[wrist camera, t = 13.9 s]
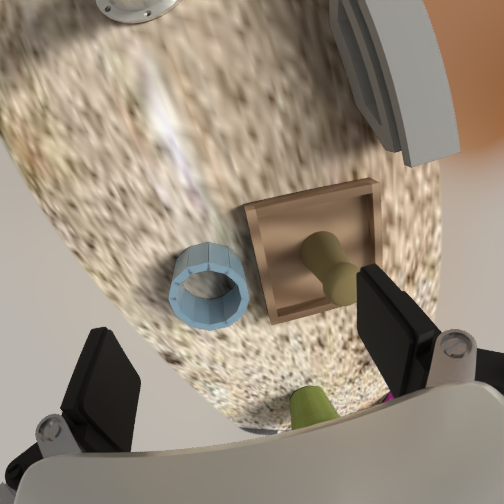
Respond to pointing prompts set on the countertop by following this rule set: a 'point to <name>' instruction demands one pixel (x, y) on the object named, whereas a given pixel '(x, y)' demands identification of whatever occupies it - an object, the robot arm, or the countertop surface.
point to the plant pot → (310, 407)
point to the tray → (299, 228)
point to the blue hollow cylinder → (204, 310)
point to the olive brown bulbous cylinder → (330, 267)
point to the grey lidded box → (397, 76)
